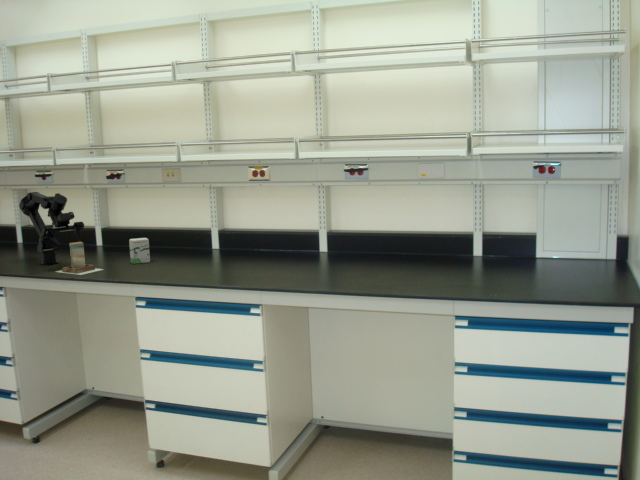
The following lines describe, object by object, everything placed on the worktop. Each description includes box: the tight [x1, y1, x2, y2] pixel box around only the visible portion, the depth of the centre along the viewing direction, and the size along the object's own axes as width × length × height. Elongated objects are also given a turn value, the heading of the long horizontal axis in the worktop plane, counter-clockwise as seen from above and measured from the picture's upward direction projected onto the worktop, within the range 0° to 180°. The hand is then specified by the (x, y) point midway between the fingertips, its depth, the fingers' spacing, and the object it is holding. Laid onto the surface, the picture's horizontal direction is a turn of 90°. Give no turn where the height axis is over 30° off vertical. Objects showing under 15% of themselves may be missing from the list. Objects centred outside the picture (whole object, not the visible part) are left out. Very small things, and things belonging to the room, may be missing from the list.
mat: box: [54, 267, 105, 276], centre depth 271 cm, size 18×13×1 cm
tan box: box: [69, 241, 86, 269], centre depth 269 cm, size 4×5×13 cm
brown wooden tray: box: [61, 263, 96, 275], centre depth 270 cm, size 10×10×2 cm
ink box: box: [128, 237, 151, 265], centre depth 288 cm, size 9×5×12 cm, turn 123°
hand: (69, 242), depth 273 cm, fingers open, 9 cm apart
